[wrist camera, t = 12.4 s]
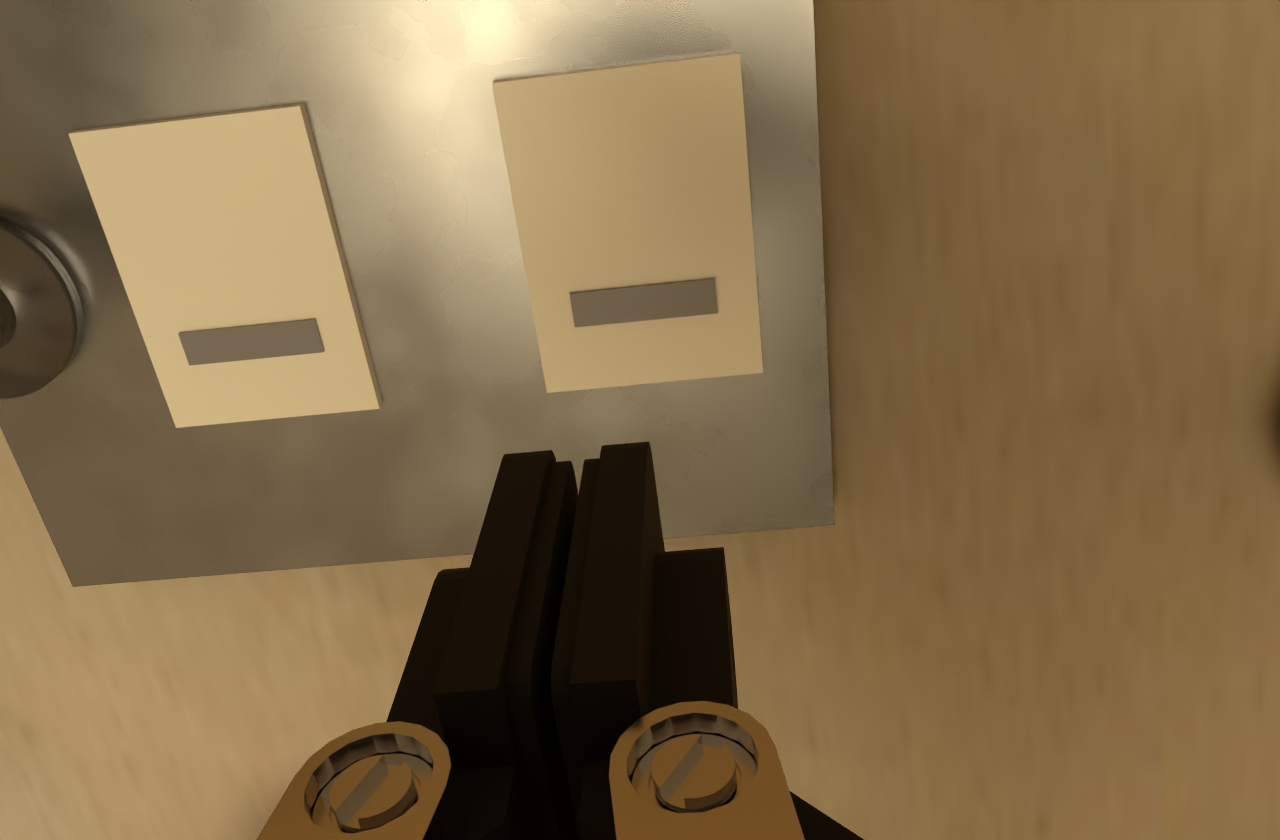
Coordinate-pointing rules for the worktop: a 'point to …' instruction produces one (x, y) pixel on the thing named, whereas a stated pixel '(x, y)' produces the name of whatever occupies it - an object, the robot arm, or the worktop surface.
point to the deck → (384, 283)
